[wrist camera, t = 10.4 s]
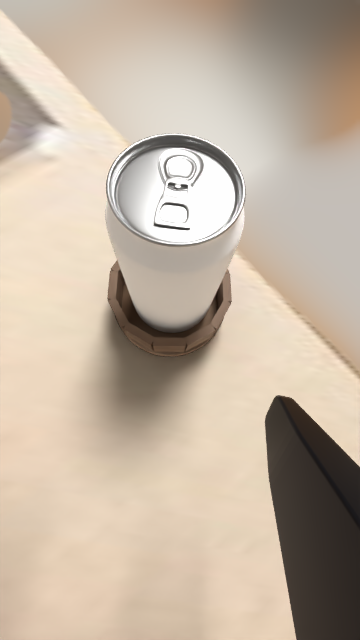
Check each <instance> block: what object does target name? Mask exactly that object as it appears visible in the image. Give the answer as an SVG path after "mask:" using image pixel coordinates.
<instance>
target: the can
mask: <svg viewBox="0 0 360 640" xmlns="http://www.w3.org/2000/svg"><path fill="white" fill-rule="evenodd" d="M106 194H107V202H106V209H105V220H106V226H107V230H108V234H109V237H110V240H111V243H112V246H113V249H114V252H115V255H116V258H117V260H118V263H119V266H120V269H121V272H122V274H123V277H124V280H125V283H126V285H127V288H128V291H129V294H130V296H131V299H132V302H133V304H134V307H135V309H136V311H137V313H138V315H139V316H140V318H141V319H142V320H143V321H144V322H145V323H146V324H147V325H149V326H150V327H152V328H154V329H156V330H158V331H162V332H167V333H178V332H183V331H186V330H188V329H191V328H192V327H194V326H195V325H197V324H198V323H199V322H200V321H201V320H202V319H203V318H204V316H205V315H206V313H207V311H208V309H209V307H210V305H211V303H212V301H213V299H214V297H215V294H216V292H217V290H218V288H219V286H220V284H221V281H222V279H223V277H224V275H225V273H226V270H227V268H228V266H229V264H230V262H231V259H232V257H233V255H234V253H235V250H236V248H237V246H238V243H239V241H240V238H241V235H242V231H243V227H244V208H243V206H244V202H245V195H246V189H245V182H244V178H243V175H242V173H241V171H240V169H239V167H238V166H237V164H236V163H235V161H234V160H233V159H232V158H231V157H230V156H229V155H228V154H227V153H226V152H225V151H224V150H222V149H221V148H220V147H218V146H217V145H215V144H213V143H211V142H209V141H207V140H205V139H202V138H199V137H196V136H191V135H186V134H175V133H173V134H172V133H171V134H160V135H155V136H151V137H147V138H144V139H142V140H140V141H138V142H136V143H134V144H132V145H131V146H129V147H128V148H126V149H125V150H124V151H123V152H122V153H121V154H120V155H119V156H118V157H117V158H116V160H115V161H114V163H113V164H112V166H111V168H110V170H109V173H108V176H107V182H106Z"/></svg>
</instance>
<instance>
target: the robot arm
mask: <svg viewBox="0 0 360 640" xmlns="http://www.w3.org/2000/svg"><path fill="white" fill-rule="evenodd" d="M265 429H266V444H267V460H268V473H269V482H270V488H271V494H272V500H273V506H274V511H275V517H276V523H277V529H278V535H279V541H280V546H281V552H282V558H283V564H284V570H285V575H286V581H287V587H288V593H289V599H290V604H291V610H292V616H293V622H294V628H295V633H296V639H297V640H360V467H359V466H358V465H357V464H356V463H355V462H354V461H353V460H352V459H351V458H350V457H349V456H348V455H347V454H346V453H345V452H344V451H343V449H342V448H341V447H340V446H339V445H338V444H337V443H336V442H335V441H334V440H333V439H332V438H331V437H330V436H329V435H328V434H327V433H326V432H325V431H324V430H323V429H322V428H321V427H320V426H319V425H318V424H317V423H316V422H315V421H314V420H313V419H312V418H311V417H310V416H309V415H308V414H307V413H306V412H305V411H304V410H303V409H302V408H301V407H300V406H299V405H298V404H297V403H296V402H295V401H294V400H293V399H292V398H290V397H285V396H280V395H278V396H276V397H275V398H274V400H273V402H272V404H271V406H270V408H269V410H268V412H267V415H266V418H265Z"/></svg>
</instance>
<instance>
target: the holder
mask: <svg viewBox="0 0 360 640" xmlns="http://www.w3.org/2000/svg"><path fill="white" fill-rule="evenodd" d="M111 270H112V271H110V277H109V288H108V298H107V299H108V302H109V304H110V306H111V308H112V310H113V312H114V314H115V317H116V320H117V322H118V324H119V326H120V328H121V329H122V331H123V332H124V334H125V335H126V336H127V338H128V339H129V340H130V341H131V342H132V343H133V344H135V345H136V346H138V347H139V348H140V349H142V350H144V351H146V352H149V353H152V354H155V355H159V356H168V357H170V356H180V355H185V354H188V353H191V352H193V351H195V350H197V349H199V348H200V347H202V346H204V345H205V344H206V343H207V342H208V341H209V340H210V339H211V338H212V337H213V336H214V334H215V333H216V332H217V330H218V329H219V327H220V325H221V323H222V321H223V318H224V315H225V313H226V312H227V310H228V308H229V306H230V304H231V302H232V300H231V283H230V274H229V271H228V269H227V270H226V273H225V275H224V277H223V279H222V281H221V284H220V286H219V288H218V290H217V292H216V294H215V297H214V299H213V301H212V303H211V305H210V307H209V309H208V311H207V313H206V315H205V316H204V318H203V319H202V320H201V321H200V322H199V323H198V324H197V325H195V326H194V327H192V328H191V329H188V330H186V331H183V332H178V333H167V332H162V331H158V330H156V329H154V328H152V327H150V326H149V325H147V324H146V323H145V322H144V321H143V320H142V319H141V318H140V316H139V315H138V313H137V311H136V309H135V307H134V304H133V302H132V299H131V296H130V294H129V291H128V288H127V285H126V283H125V280H124V277H123V274H122V272H121V269H120V266H119V263H118V260H117V261H116V263H115V264H114V265H113V267H112V268H111Z"/></svg>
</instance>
